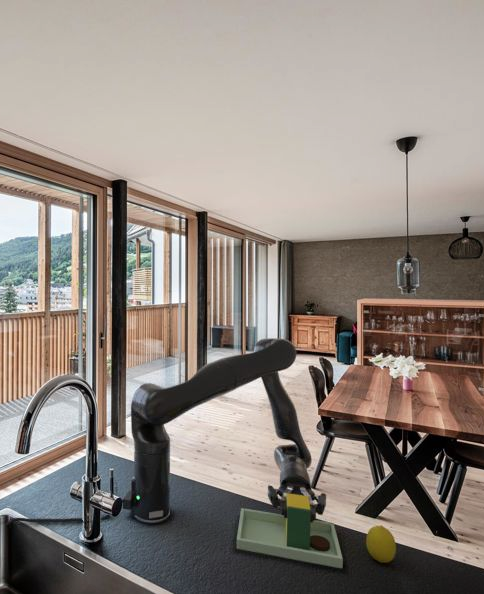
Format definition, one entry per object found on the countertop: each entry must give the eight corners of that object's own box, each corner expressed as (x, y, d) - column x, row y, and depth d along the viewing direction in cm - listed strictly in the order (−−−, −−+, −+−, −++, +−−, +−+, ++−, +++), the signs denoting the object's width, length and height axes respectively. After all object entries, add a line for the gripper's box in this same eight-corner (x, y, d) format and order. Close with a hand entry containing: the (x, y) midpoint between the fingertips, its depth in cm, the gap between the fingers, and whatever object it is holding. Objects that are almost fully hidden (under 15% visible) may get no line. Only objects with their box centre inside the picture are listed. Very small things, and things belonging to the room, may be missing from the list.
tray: (236, 550, 91) (236, 539, 91) (241, 518, 104) (241, 507, 104) (342, 571, 85) (342, 558, 85) (333, 533, 98) (333, 522, 98)
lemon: (399, 573, 85) (400, 535, 84) (370, 569, 86) (371, 531, 85) (389, 556, 90) (390, 520, 90) (362, 552, 91) (363, 517, 91)
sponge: (286, 547, 91) (287, 507, 91) (285, 530, 98) (286, 493, 97) (309, 551, 90) (310, 511, 90) (307, 534, 96) (308, 496, 96)
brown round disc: (310, 549, 91) (310, 545, 91) (307, 538, 95) (307, 533, 95) (331, 553, 90) (331, 548, 90) (327, 541, 94) (327, 536, 94)
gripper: (266, 463, 110) (265, 494, 93) (324, 471, 105) (334, 505, 89) (266, 491, 110) (264, 527, 93) (324, 500, 106) (333, 539, 89)
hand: (298, 516), depth 91 cm, fingers closed on sponge, 4 cm apart
